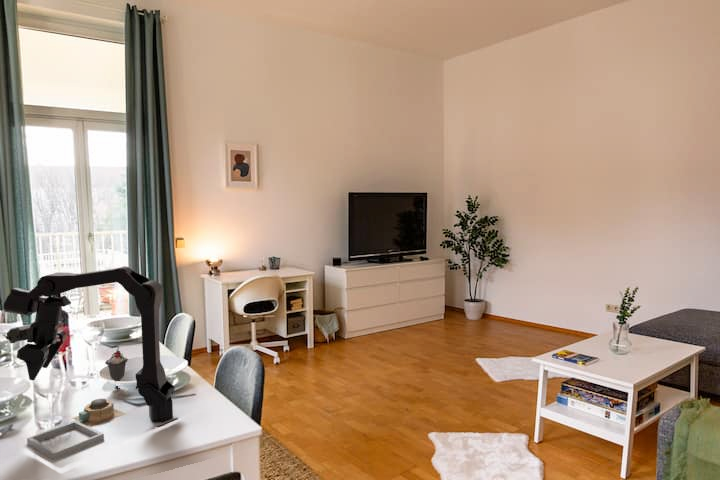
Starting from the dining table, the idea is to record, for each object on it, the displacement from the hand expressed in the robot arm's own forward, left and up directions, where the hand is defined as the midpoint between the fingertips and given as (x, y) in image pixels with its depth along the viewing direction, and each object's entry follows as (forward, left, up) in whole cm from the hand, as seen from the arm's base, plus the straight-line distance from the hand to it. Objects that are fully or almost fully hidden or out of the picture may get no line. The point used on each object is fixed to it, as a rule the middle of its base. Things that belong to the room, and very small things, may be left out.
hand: (38, 373), depth 137 cm
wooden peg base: (-9, -11, -15) cm, 21 cm away
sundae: (+7, -26, -15) cm, 31 cm away
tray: (-17, +2, -15) cm, 23 cm away
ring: (-9, -11, -14) cm, 20 cm away
